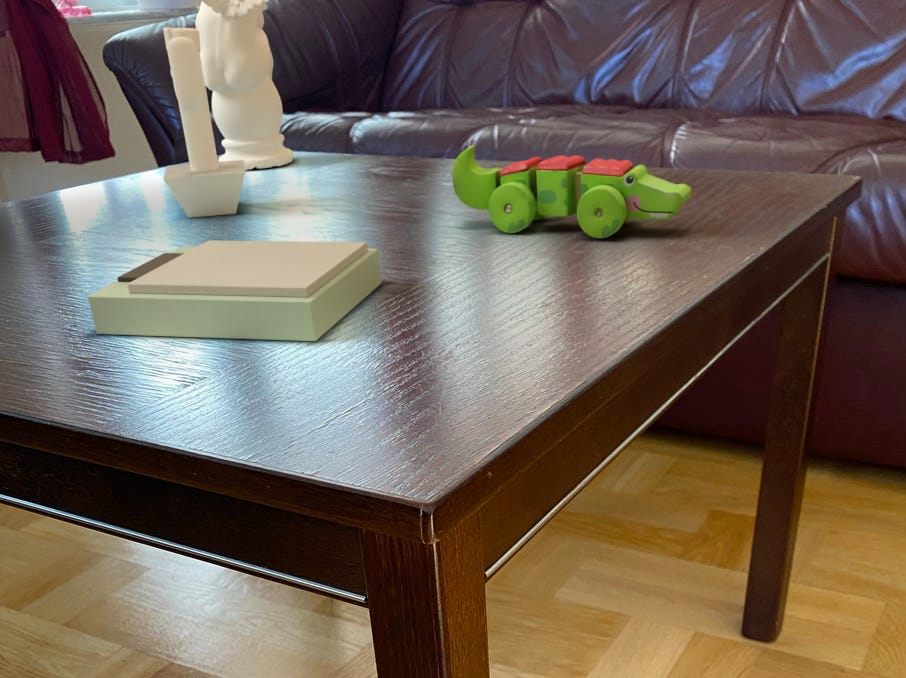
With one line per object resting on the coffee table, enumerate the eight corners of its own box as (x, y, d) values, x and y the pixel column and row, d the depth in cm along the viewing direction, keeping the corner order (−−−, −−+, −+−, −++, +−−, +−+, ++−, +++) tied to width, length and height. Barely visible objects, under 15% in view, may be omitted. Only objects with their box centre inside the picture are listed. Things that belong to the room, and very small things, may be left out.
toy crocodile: (696, 226, 83) (702, 143, 79) (671, 245, 78) (676, 158, 74) (478, 213, 90) (475, 138, 87) (443, 230, 85) (439, 150, 82)
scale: (96, 334, 65) (84, 286, 63) (189, 279, 76) (181, 237, 74) (315, 341, 62) (309, 291, 60) (381, 283, 72) (377, 239, 71)
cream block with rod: (249, 198, 101) (222, 21, 92) (252, 217, 93) (222, 26, 85) (175, 204, 100) (140, 26, 91) (171, 224, 92) (132, 32, 84)
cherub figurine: (264, 154, 124) (232, -66, 111) (340, 160, 118) (315, -72, 105) (188, 171, 116) (143, -64, 103) (265, 179, 110) (228, -70, 97)
